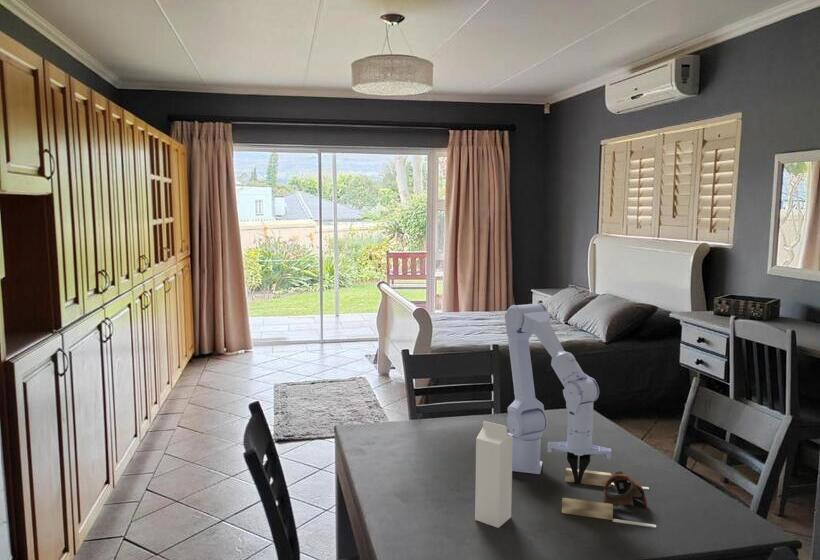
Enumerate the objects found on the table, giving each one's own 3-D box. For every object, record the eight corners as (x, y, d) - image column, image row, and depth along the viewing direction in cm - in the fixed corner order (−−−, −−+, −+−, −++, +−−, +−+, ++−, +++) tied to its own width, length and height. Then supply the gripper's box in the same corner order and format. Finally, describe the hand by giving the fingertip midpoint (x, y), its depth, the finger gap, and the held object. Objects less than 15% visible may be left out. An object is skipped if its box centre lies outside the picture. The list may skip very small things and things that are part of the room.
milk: (488, 509, 140) (489, 416, 138) (511, 517, 137) (513, 422, 134) (474, 520, 135) (475, 424, 133) (498, 528, 132) (500, 430, 130)
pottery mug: (656, 517, 138) (644, 490, 136) (616, 531, 140) (603, 505, 137) (639, 481, 149) (627, 456, 147) (602, 495, 151) (590, 470, 149)
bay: (612, 521, 135) (612, 520, 135) (610, 483, 154) (610, 482, 154) (656, 527, 132) (656, 526, 132) (648, 488, 151) (648, 487, 151)
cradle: (561, 512, 139) (562, 500, 139) (565, 478, 156) (566, 467, 156) (612, 520, 136) (613, 507, 135) (610, 484, 153) (611, 473, 153)
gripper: (547, 431, 143) (545, 486, 145) (612, 437, 139) (609, 494, 141) (549, 421, 150) (547, 474, 151) (611, 427, 146) (609, 481, 147)
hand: (577, 483), depth 146 cm, fingers closed
